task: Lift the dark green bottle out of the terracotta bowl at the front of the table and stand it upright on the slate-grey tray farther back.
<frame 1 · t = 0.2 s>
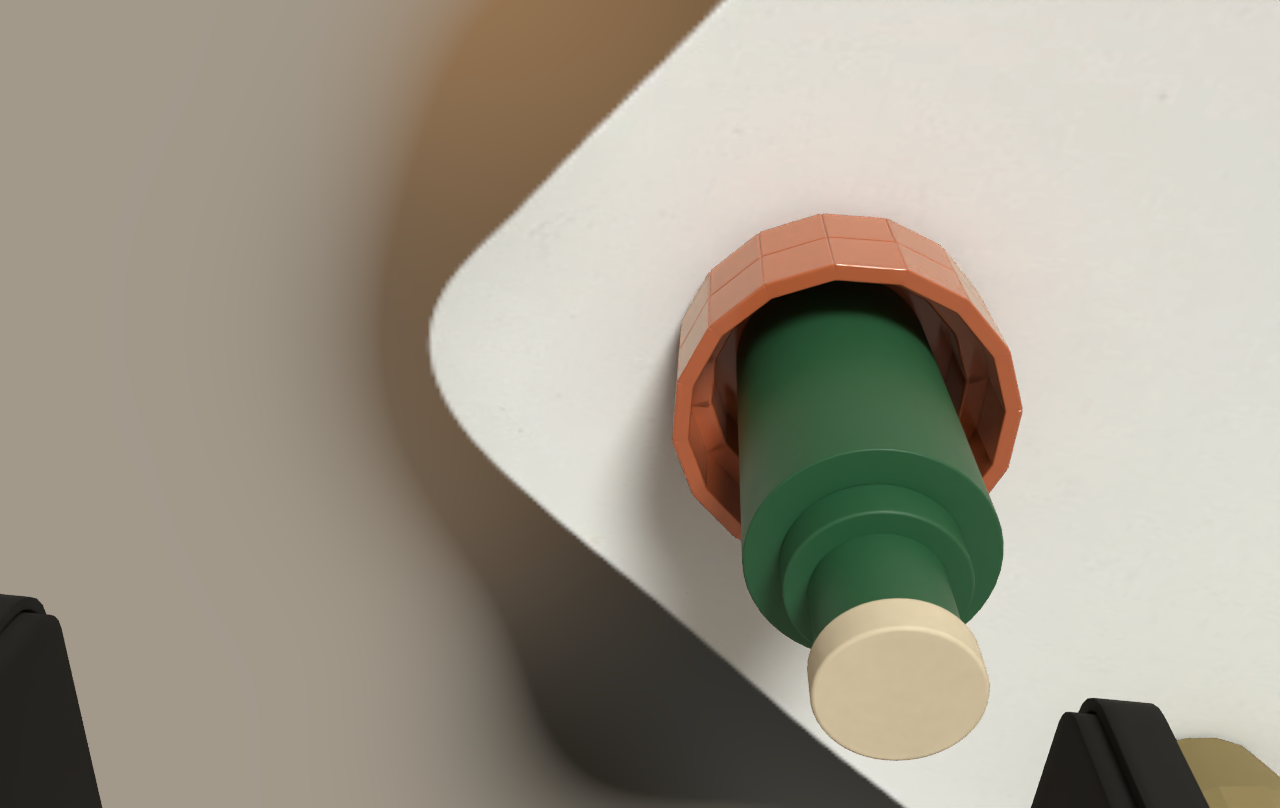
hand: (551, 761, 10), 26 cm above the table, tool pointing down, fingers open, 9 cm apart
bottle: (830, 361, 36), point 1 cm above the table, touching bowl
bowl: (829, 353, 37), on the table
squeeze bottle: (1185, 783, 45), on the table
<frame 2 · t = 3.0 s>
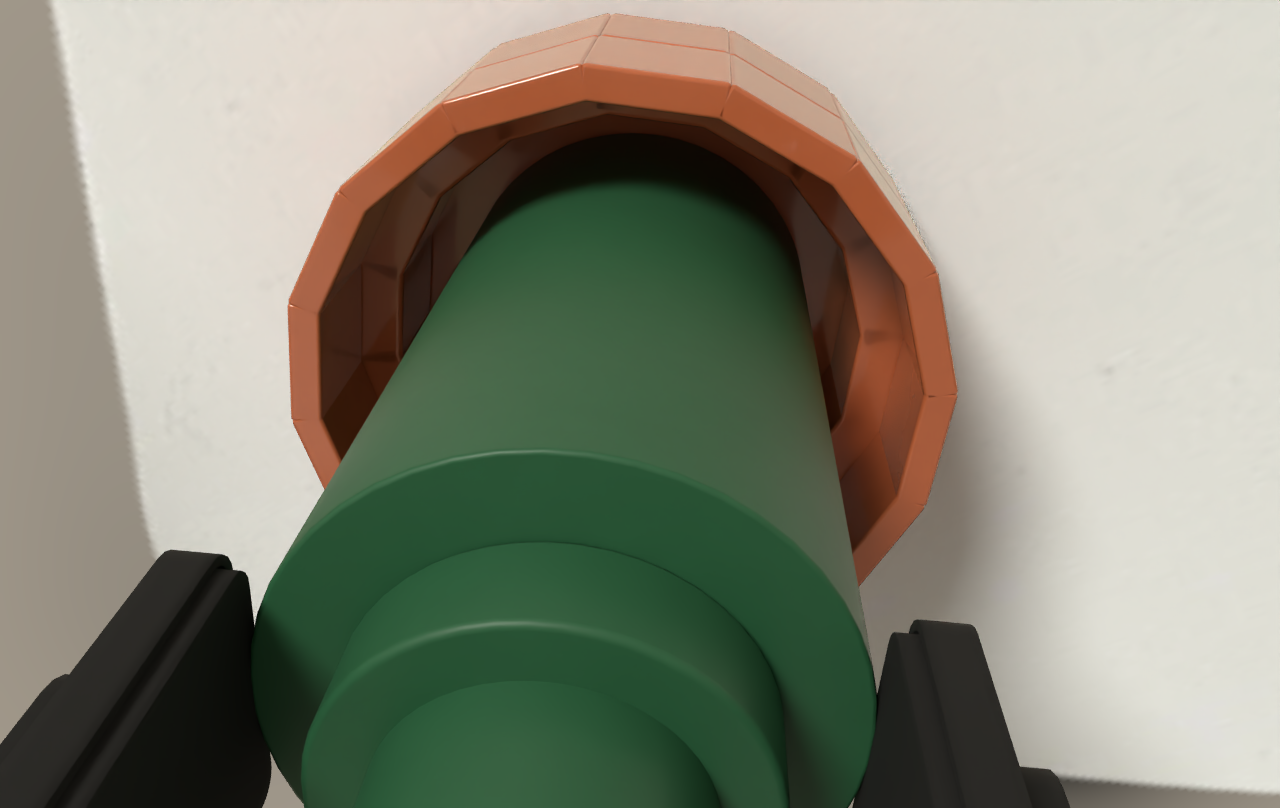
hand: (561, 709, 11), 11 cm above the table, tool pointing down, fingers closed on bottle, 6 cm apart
bottle: (635, 298, 21), point 1 cm above the table, touching bowl, gripper
bowl: (637, 286, 21), on the table
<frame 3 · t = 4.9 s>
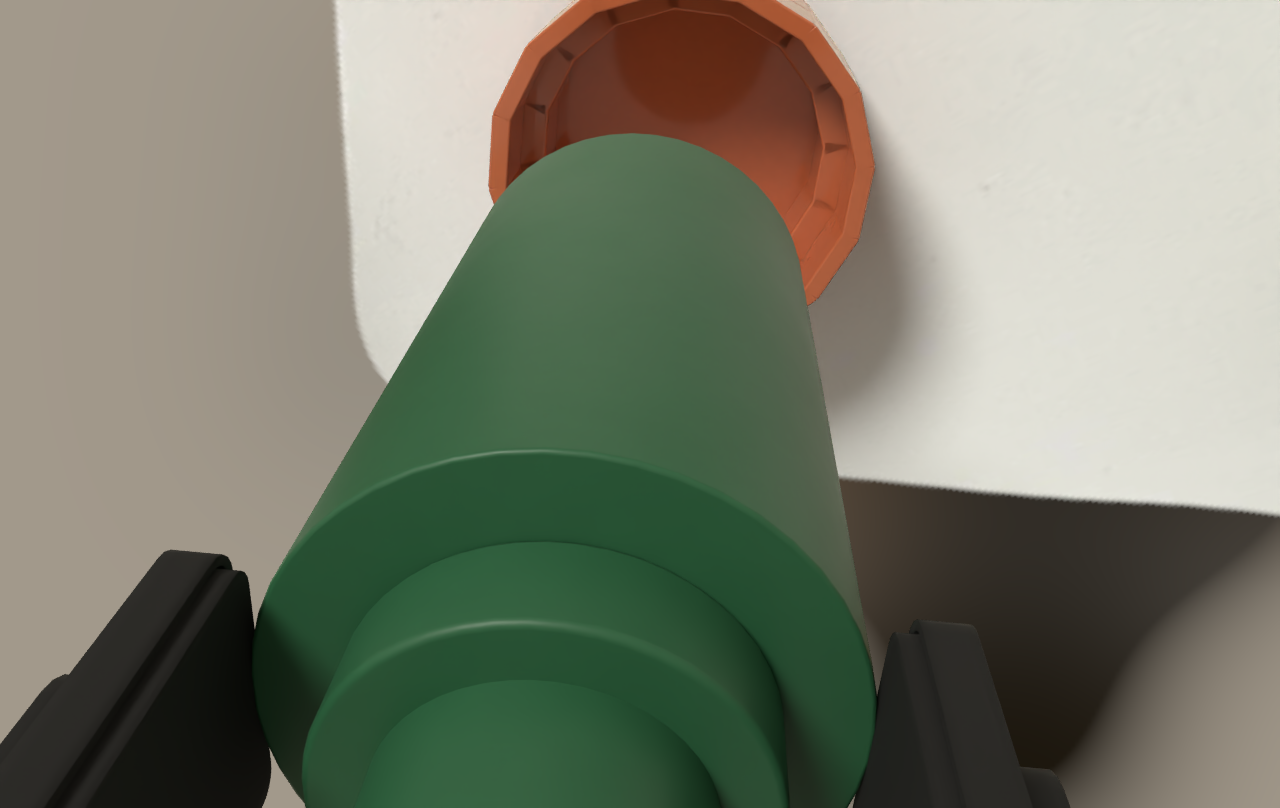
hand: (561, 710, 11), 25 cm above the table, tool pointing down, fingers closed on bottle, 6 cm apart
bottle: (635, 298, 21), point 14 cm above the table, touching gripper
bowl: (685, 132, 33), on the table
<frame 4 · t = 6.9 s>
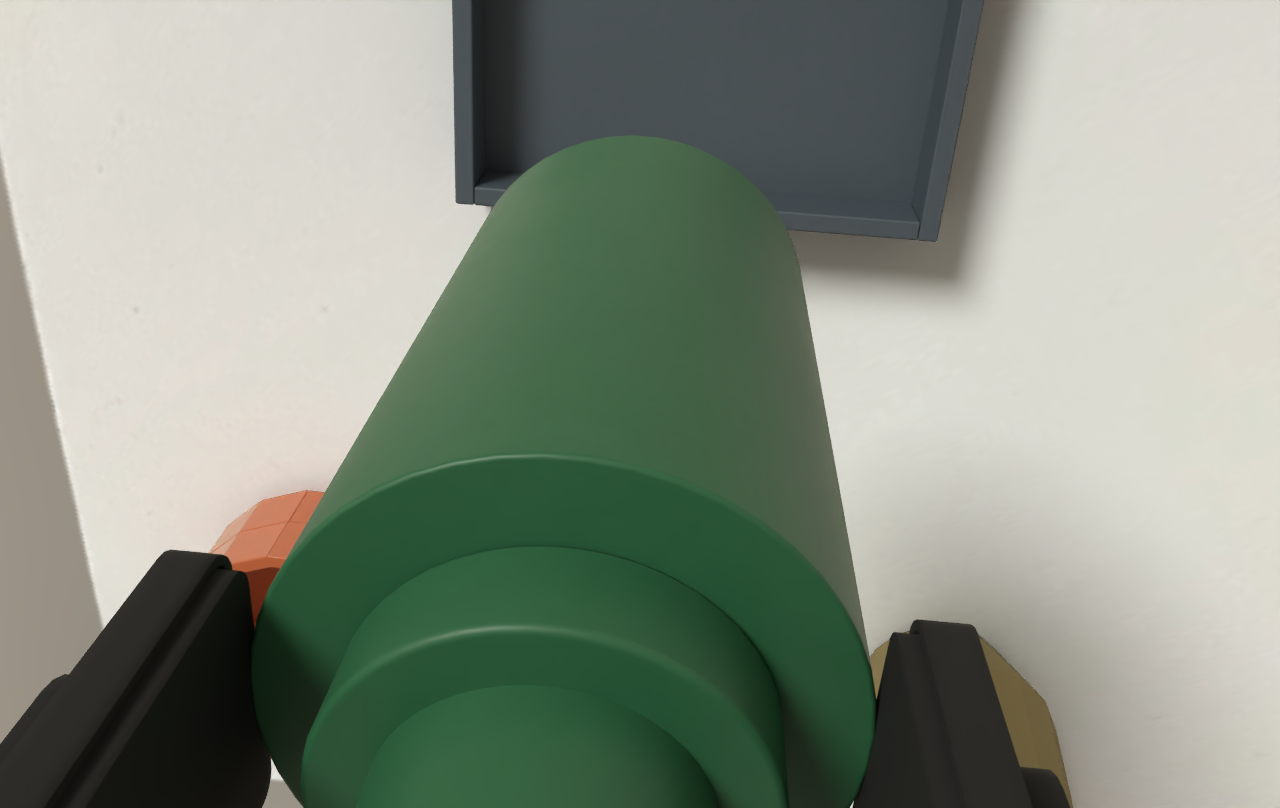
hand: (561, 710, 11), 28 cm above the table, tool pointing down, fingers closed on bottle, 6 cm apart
bottle: (634, 300, 21), point 17 cm above the table, touching gripper
bowl: (340, 586, 46), on the table
squeeze bottle: (930, 675, 46), on the table
tray: (710, 41, 35), on the table
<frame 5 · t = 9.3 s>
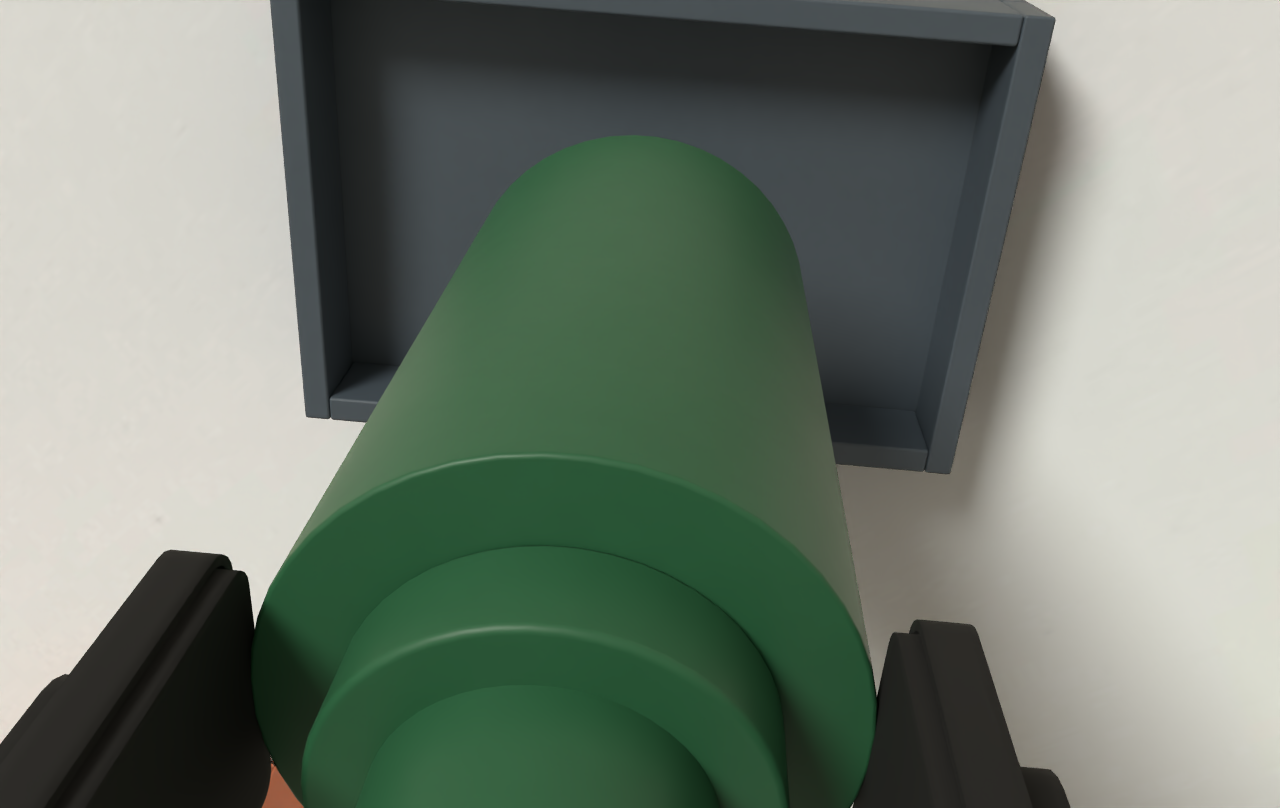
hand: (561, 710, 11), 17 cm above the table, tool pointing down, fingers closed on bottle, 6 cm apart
bottle: (635, 300, 21), point 6 cm above the table, touching gripper
tray: (646, 203, 26), on the table
when the fingers open (11 cm above the table, at t = 11.1 s): bottle stays where it is, resting on tray.
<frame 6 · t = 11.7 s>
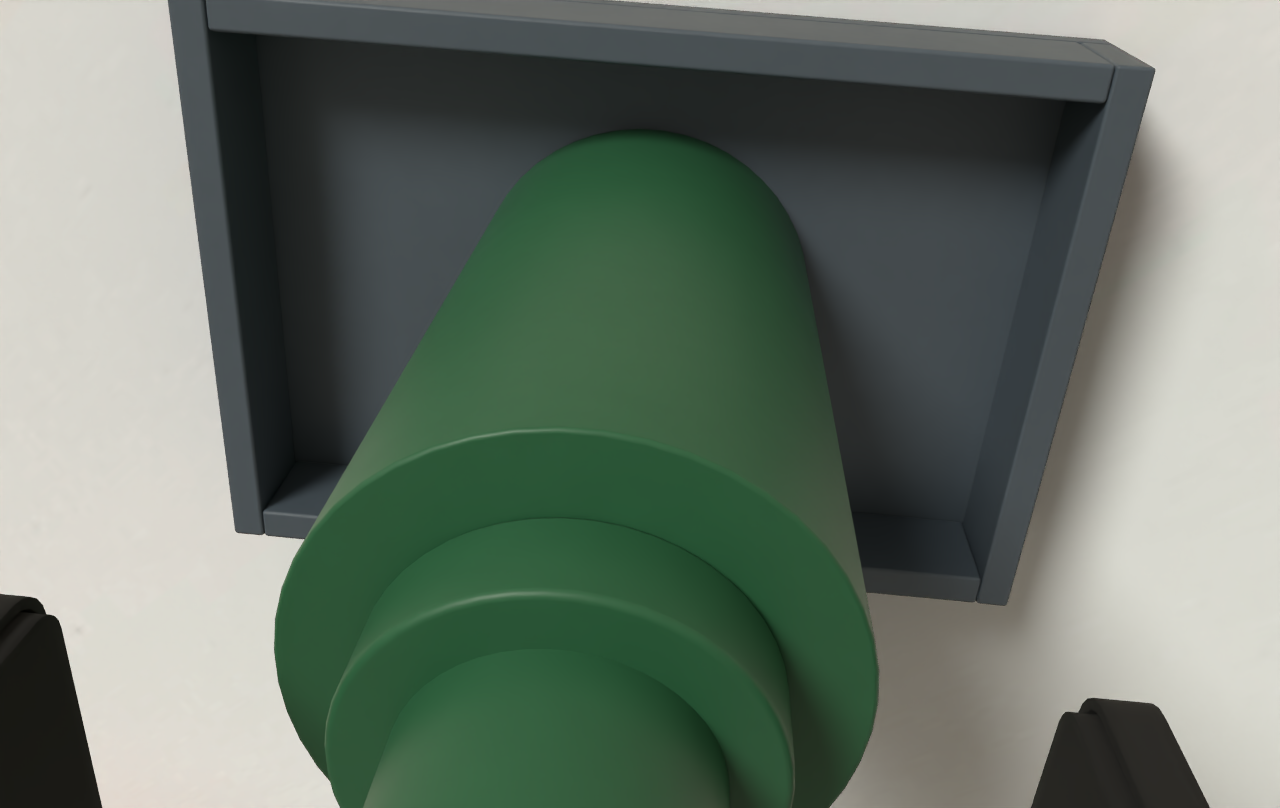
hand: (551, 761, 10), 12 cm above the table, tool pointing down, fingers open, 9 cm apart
bottle: (642, 291, 21), resting on tray
tray: (642, 280, 21), on the table
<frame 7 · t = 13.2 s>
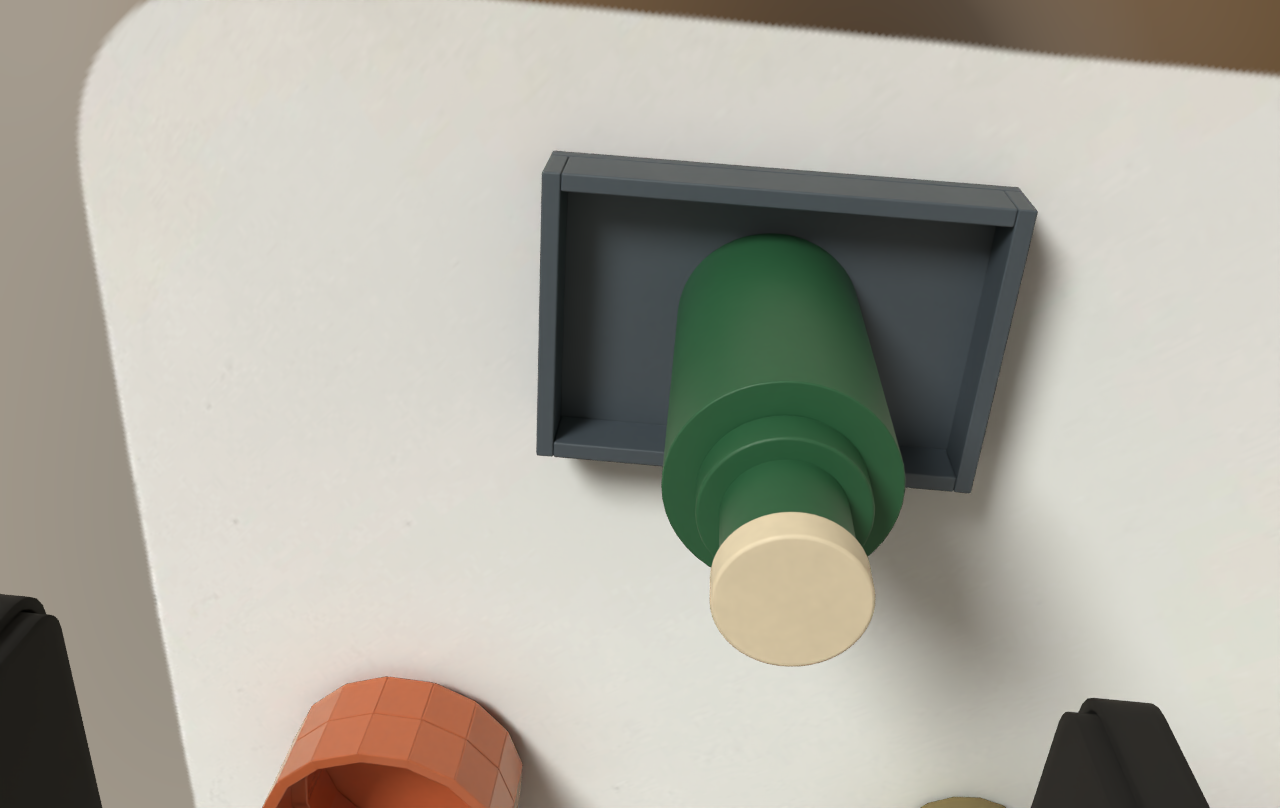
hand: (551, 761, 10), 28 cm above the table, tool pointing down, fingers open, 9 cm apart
bottle: (767, 319, 38), resting on tray
bowl: (412, 754, 49), on the table
tray: (766, 312, 38), on the table
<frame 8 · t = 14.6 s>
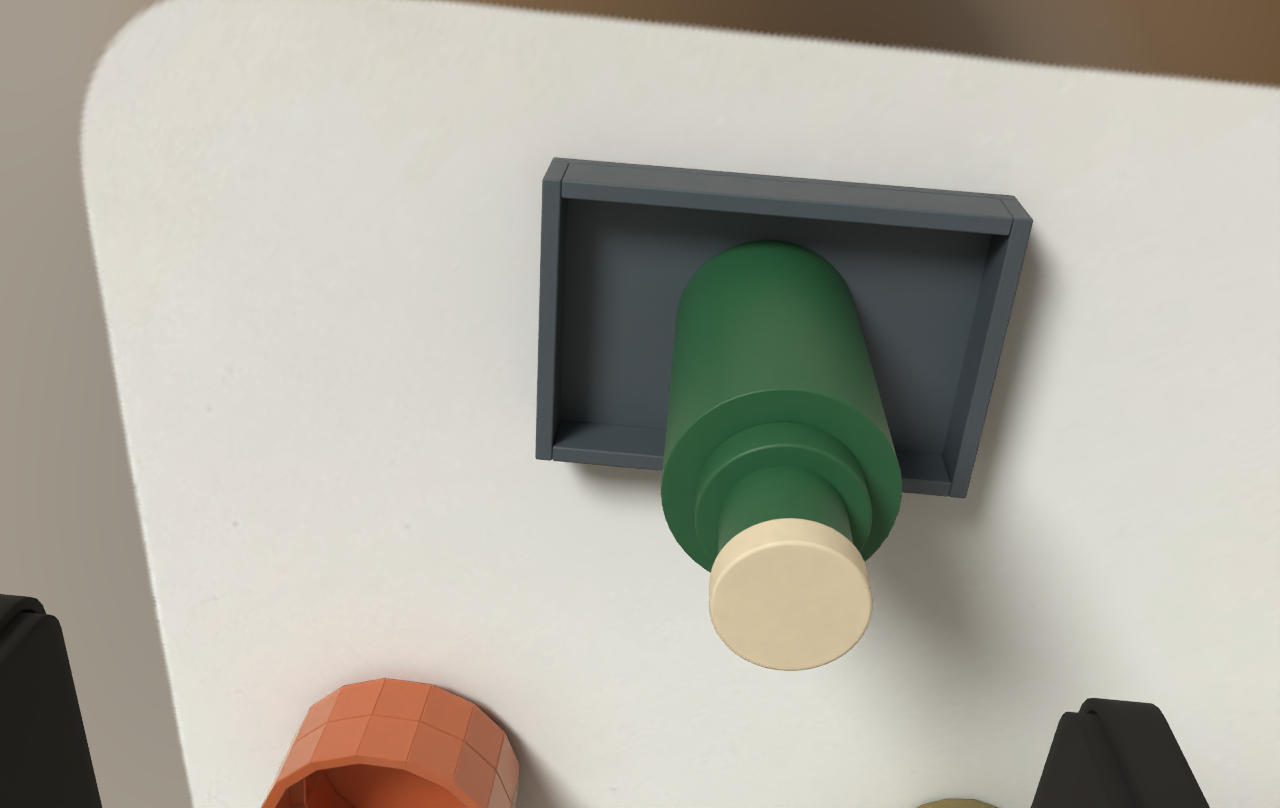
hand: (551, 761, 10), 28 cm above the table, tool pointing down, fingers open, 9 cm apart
bottle: (765, 324, 38), resting on tray
bowl: (410, 755, 50), on the table
tray: (764, 318, 39), on the table
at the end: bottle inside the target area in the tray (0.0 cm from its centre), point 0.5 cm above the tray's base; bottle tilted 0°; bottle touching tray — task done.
